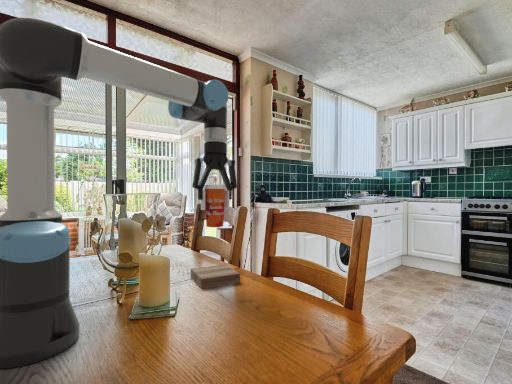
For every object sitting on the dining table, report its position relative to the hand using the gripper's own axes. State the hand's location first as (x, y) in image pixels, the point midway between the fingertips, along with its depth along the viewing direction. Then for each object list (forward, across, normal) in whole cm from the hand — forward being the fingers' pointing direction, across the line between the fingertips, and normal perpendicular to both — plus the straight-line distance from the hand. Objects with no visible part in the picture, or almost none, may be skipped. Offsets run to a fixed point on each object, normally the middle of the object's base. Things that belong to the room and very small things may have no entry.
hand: (215, 209), depth 96 cm
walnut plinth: (+24, 0, 0) cm, 24 cm away
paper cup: (+6, 0, 0) cm, 6 cm away
